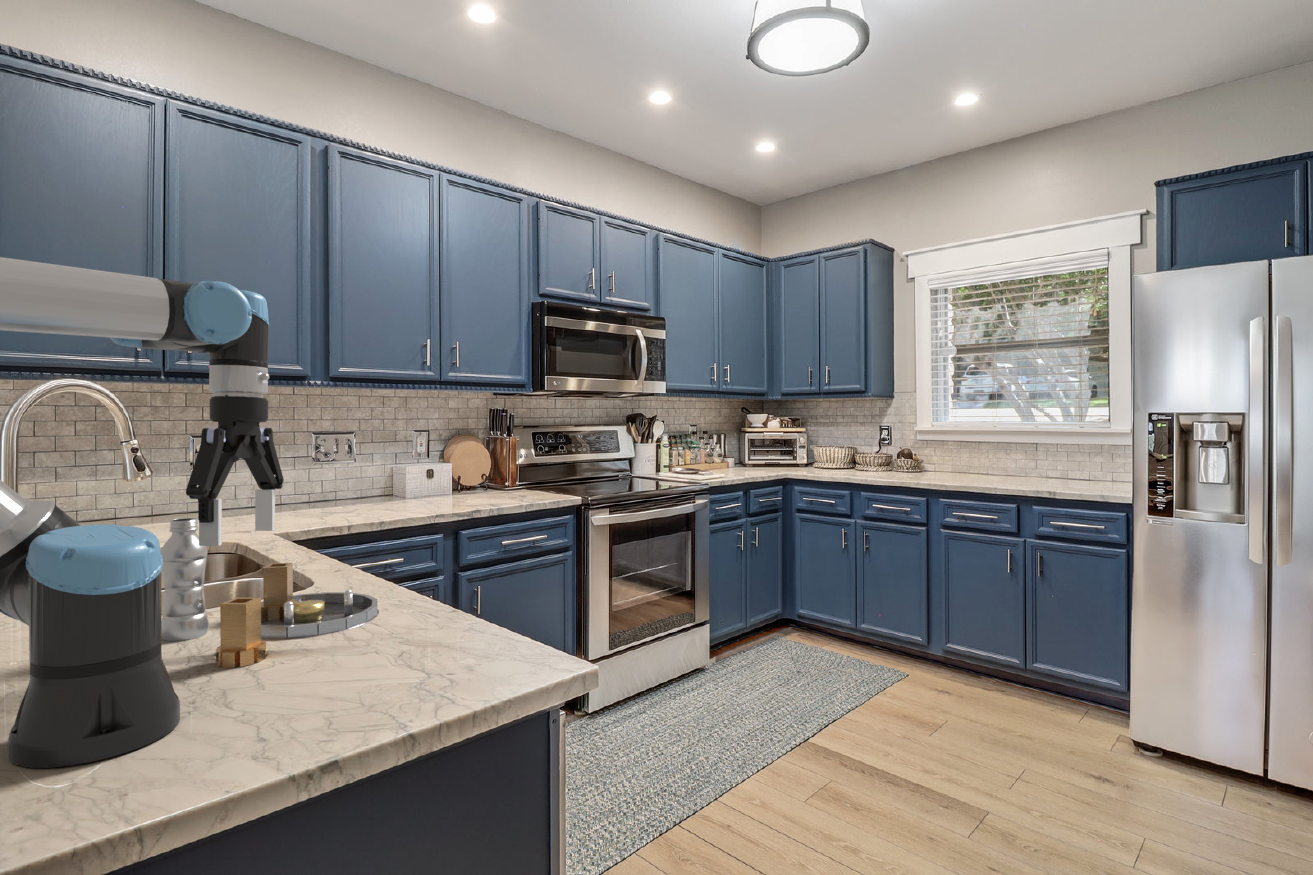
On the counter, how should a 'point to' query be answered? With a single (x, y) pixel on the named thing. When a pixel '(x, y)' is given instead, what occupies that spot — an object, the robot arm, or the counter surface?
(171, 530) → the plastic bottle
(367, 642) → the counter surface
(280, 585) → the tan square tube
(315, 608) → the bowl
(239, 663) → the hollow wooden square post
